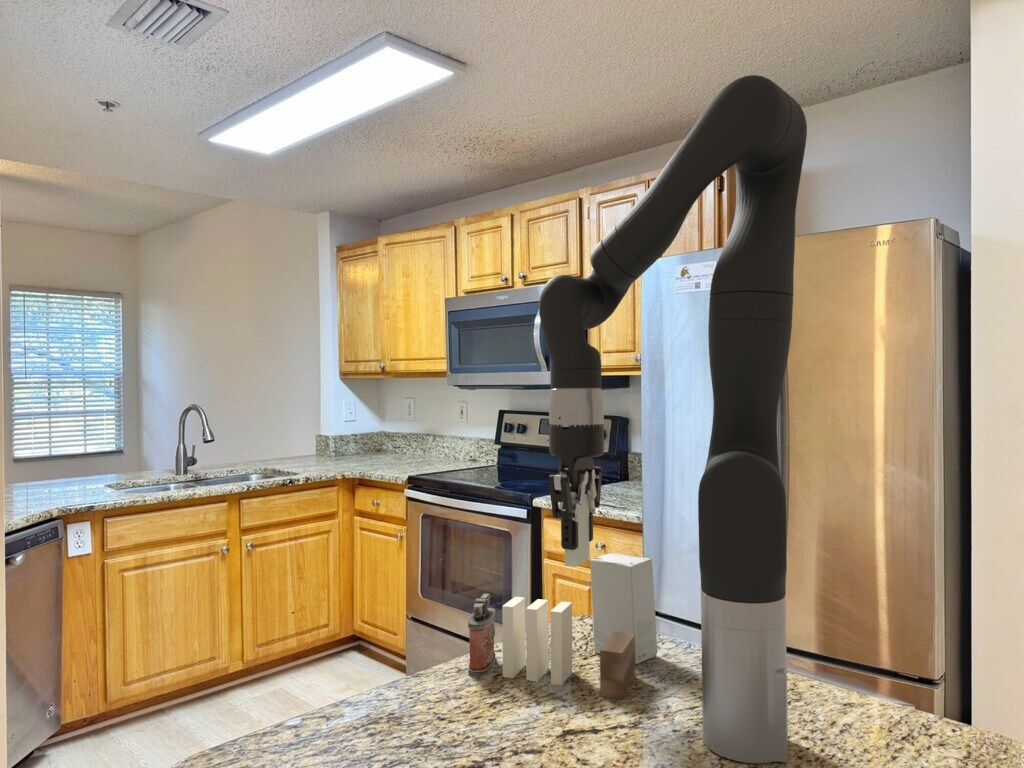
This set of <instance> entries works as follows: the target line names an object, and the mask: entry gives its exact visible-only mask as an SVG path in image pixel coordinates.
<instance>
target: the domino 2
mask: <svg viewBox="0 0 1024 768" xmlns="http://www.w3.org/2000/svg"><path fill="white" fill-rule="evenodd" d="M549 644H550V643H549V600H548V599H541V598H540V599H539V598H538V599H536V600H535V601H534V602H532V603H531V604H530V605H529V606H527V607H525V646H526V666H525V667H526V681H528V680H529V681H530V682H535V681H536V682H539V681H540V679H541V678H542V677H543V676H544V675H545V674H546V673H547V671H549V669H550V666H549V664H550V663H549V662H550V661H549V657H550V655H549ZM545 672H546V673H545ZM544 673H545V674H544ZM536 682H535V683H536Z"/></svg>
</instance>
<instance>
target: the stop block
mask: <svg viewBox="0 0 1024 768" xmlns="http://www.w3.org/2000/svg"><path fill="white" fill-rule="evenodd" d="M599 670H600V671H599V677H600V679H599V681H600V683H599V684H600V687H599V688H600V690H599V691H600V697H604V698H605V697H606V698H613V699H619V700H623V699H624V698H625V696H626V694H627V693H628V691H629V689H630V688H631V685H632V683H634V682H633V681H634V680H635V677H636V664H635V634H630V633H622V632H613V634H612V635H611V636H610V638H609V639H608V640H607V642H606V643H605V644H604V646H603V647H602V648H601V650H600V654H599Z"/></svg>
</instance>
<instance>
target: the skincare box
mask: <svg viewBox="0 0 1024 768" xmlns="http://www.w3.org/2000/svg"><path fill="white" fill-rule="evenodd" d="M589 561H590V562H589V563H590V581H591V583H590V585H591V602H592V603H591V604H592V619H593V620H592V622H593V623H592V624H593V644H594V645H593V646H594V654H597V655H600V650H601V648H602V647H603V646H604V644H605V643H606V642H607V640H608V639H609V638H610V636H611V635H612V634H613V632H622V633H630V634H635V665H638V664H641V663H642V662H645V661H648V660H651V659H653V658H656V657H657V654H658V638H657V624H656V623H657V621H656V605H655V589H654V588H655V587H654V570H653V569H654V568H653V558H647V557H641V556H632V555H628V554H627V555H625V554H620V553H615V552H610V553H607V554H603V555H600V556H597V557H594V558H591V559H589Z"/></svg>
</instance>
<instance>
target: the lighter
mask: <svg viewBox="0 0 1024 768" xmlns="http://www.w3.org/2000/svg"><path fill="white" fill-rule="evenodd" d="M490 603H491V595H490V594H489V593H483V594H482V595H481V596H480V598H477V597H476V598H475V599H474V605H473V613H471V614H470V616H469V617H468V619H467V620H468V621H467V627H468V629H469V632H468V633H469V663H468V668H467V672H468V673H467V674H468V676H469V677H473V678H482V677H485V676H487V675H488V674H489V673H490V672H491V671H492V670H493V668H494V666H495V665H496V659H497V658H496V652H495V636H496V633H495V632H496V631H495V629H496V626H495V618H496V609H495V608H494V607H489V604H490Z"/></svg>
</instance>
